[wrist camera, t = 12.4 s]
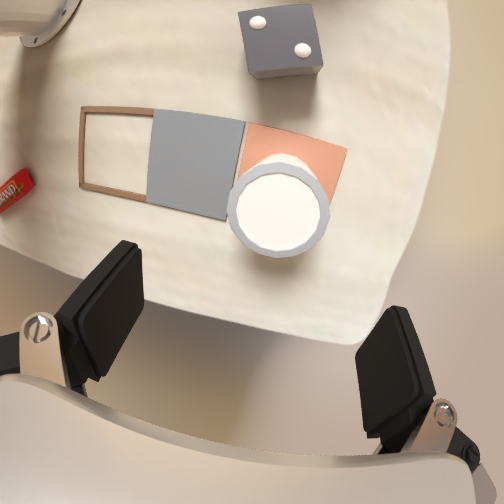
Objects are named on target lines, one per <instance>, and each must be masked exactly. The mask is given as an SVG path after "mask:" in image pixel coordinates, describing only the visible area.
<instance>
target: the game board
mask: <svg viewBox="0 0 504 504" xmlns="http://www.w3.org/2000/svg"><path fill="white" fill-rule="evenodd" d="M86 112H112V113H132V114H146V115H154V117H153V125H152V133H151V142H150V152H149V163H148V176H147V193H146V195H142V194H137V193H133V192H128V191H123V190H118V189H113V188H108V187H103V186H98V185H93V184H88V183H84V135H85V119H86ZM244 126H245V122H244V121H239V120H234V119H229V118H223V117H217V116H211V115H204V114H197V113H189V112H181V111H172V110H162V109H150V108H135V107H108V106H85V107H81V113H80V128H79V188H83V189H88V190H93V191H98V192H103V193H107V194H112V195H117V196H121V197H126V198H130V199H135V200H139V201H144V202H148V203H153V204H157V205H162V206H166V207H170V208H175V209H179V210H183V211H187V212H192V213H196V214H200V215H204V216H208V217H212V218H217V219H221V220H226V217H227V205H228V199H229V193H230V191H231V189H232V185H233V180H234V175H235V170H236V165H237V160H238V155H239V150H240V145H241V140H242V136H243V131H244ZM346 152H347V149H346V148H343V147H340V146H337V145H334V144H331V143H328V142H324V141H321V140H318V139H314V138H311V137H307V136H304V135H300V134H296V133H292V132H289V131H285V130H281V129H276V128H272V127H268V126H263V125H259V124H254V123H249V127H248V132H247V137H246V141H245V146H244V151H243V155H242V160H241V165H240V170H239V175H238V179H239V178H240V176H241V175H243V174H244V173H245V172H247V171H248V170H249V169H251V168H252V167H253V166H255V165H256V164H257V163H259V162H260V161H262V160H264V159H265V158H267V157H269V156H270V155H276V154H283V153H284V154H288V155H292V156H295V157H297V158H298V159H300V160H301V161H303V162H304V163H305V164H306V165H307V166H308V167H309V169H310V170H311V171H312V173H313V174H314V175H315V176H316V178H317V179H318V181H319V182H320V184H321V186H322V188H323V189H324V191H325V193H326V195H327V197H328V200H329V205H330V202H331V199H332V196H333V193H334V190H335V187H336V184H337V181H338V178H339V175H340V172H341V168H342V165H343V162H344V159H345V156H346ZM237 181H238V180H237Z"/></svg>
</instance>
